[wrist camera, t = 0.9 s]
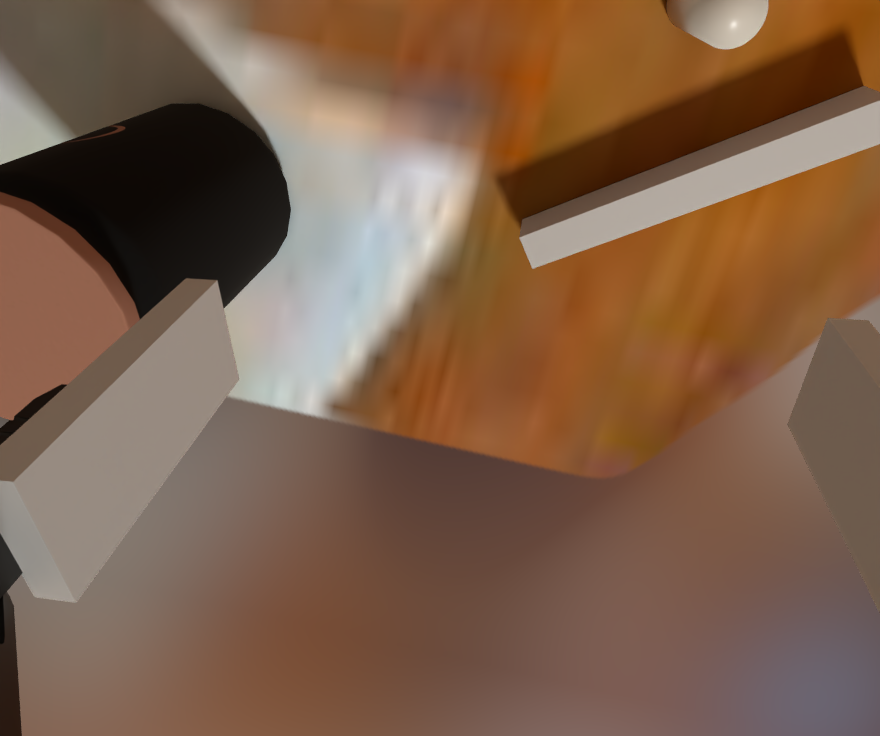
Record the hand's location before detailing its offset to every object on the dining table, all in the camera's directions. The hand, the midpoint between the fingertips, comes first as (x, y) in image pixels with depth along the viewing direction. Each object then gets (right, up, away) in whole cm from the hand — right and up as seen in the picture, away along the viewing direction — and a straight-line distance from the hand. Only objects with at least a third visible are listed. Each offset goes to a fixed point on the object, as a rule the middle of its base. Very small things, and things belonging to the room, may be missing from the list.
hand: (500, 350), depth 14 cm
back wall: (+12, +10, +21) cm, 26 cm away
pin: (+11, +17, +16) cm, 26 cm away
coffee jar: (-15, +11, +26) cm, 32 cm away
